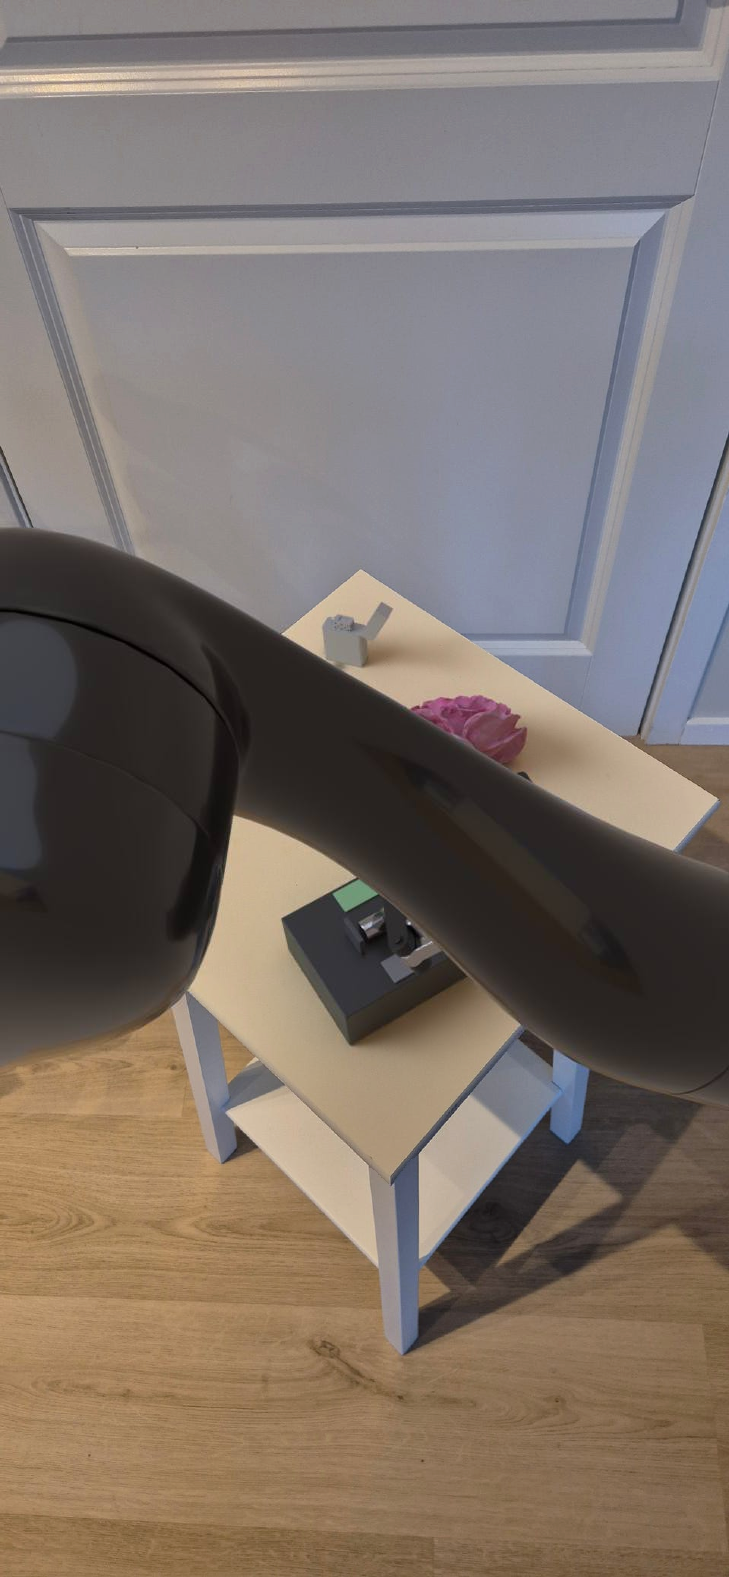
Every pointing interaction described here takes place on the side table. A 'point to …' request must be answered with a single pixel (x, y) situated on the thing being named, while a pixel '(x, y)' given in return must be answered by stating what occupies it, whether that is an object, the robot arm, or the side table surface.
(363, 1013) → the switch box
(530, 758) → the side table surface
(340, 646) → the lighter
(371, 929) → the toggle
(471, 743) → the flower
